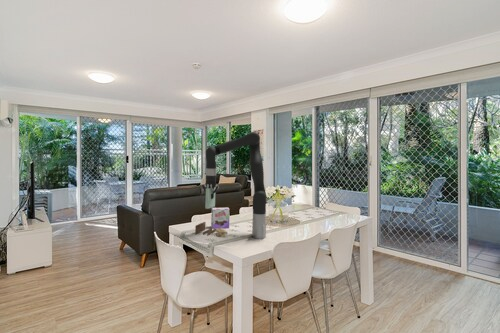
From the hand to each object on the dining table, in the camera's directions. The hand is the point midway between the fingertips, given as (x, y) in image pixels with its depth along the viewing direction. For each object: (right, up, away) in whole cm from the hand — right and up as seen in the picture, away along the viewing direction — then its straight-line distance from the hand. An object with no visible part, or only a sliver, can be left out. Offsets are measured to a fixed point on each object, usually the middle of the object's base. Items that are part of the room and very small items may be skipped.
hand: (210, 198), depth 202 cm
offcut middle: (+8, -26, -2) cm, 27 cm away
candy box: (+5, -26, +17) cm, 31 cm away
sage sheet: (0, -6, 0) cm, 6 cm away
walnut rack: (-4, -26, +2) cm, 26 cm away
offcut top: (+8, -24, -2) cm, 25 cm away
